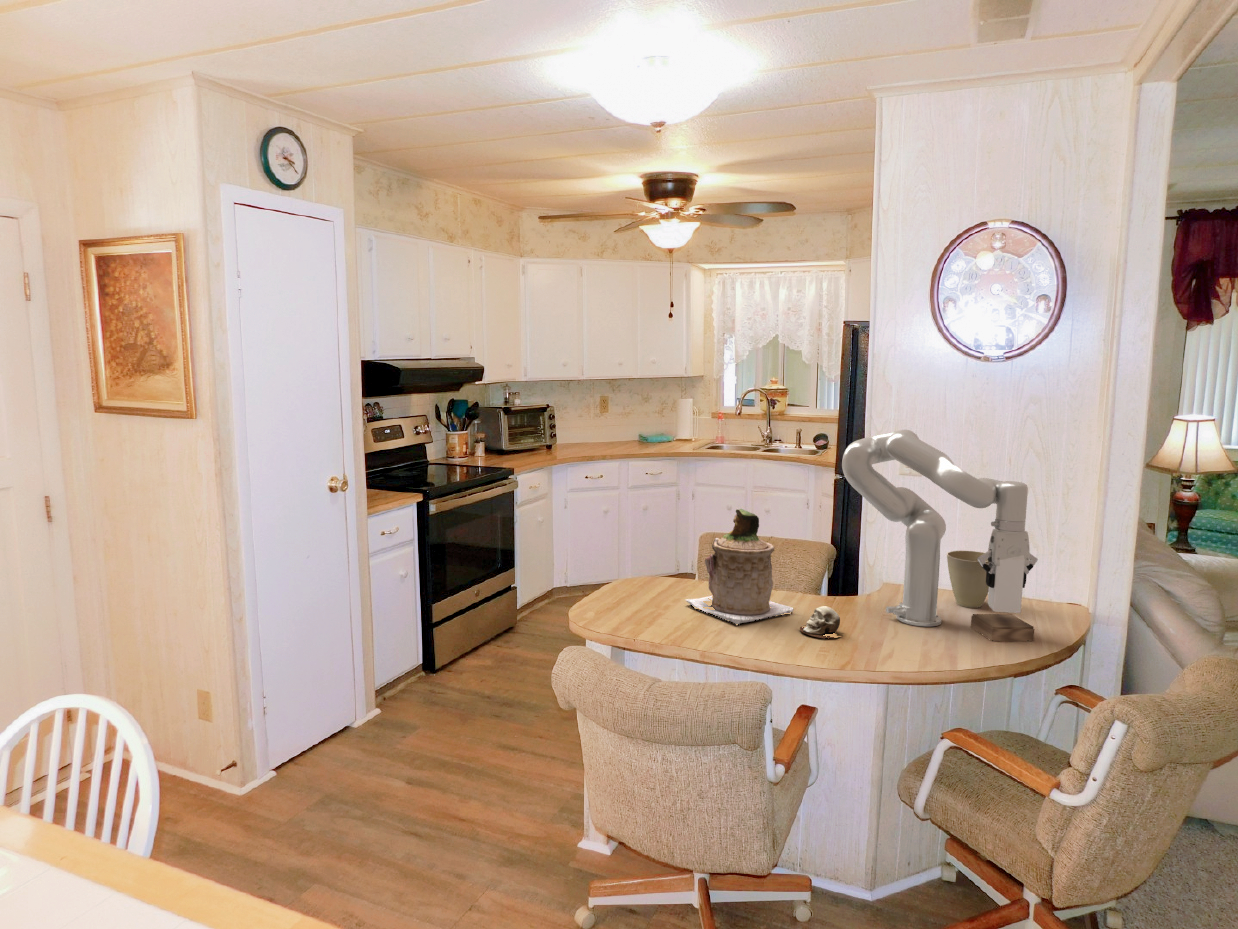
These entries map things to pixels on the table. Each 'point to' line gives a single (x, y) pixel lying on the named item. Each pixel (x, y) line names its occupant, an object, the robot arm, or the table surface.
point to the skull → (822, 623)
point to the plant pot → (967, 578)
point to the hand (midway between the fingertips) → (1005, 586)
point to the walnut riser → (1002, 627)
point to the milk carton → (1007, 586)
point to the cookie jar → (741, 574)
